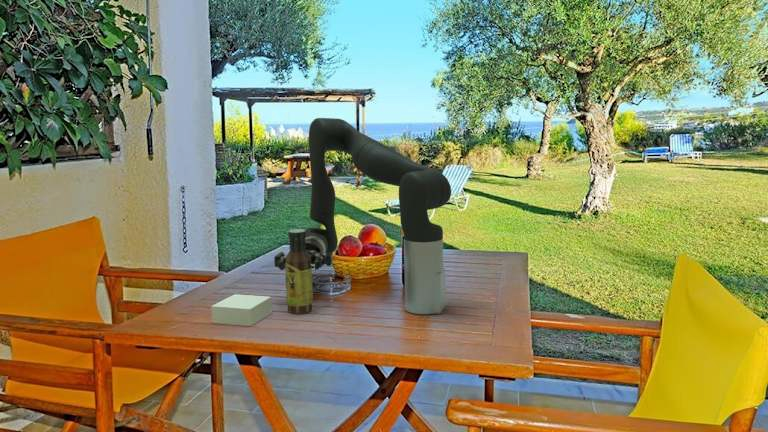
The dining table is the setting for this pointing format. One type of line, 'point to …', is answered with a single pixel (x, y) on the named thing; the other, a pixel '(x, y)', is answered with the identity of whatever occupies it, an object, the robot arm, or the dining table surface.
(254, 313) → the plinth
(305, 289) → the sauce bottle
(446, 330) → the dining table surface
